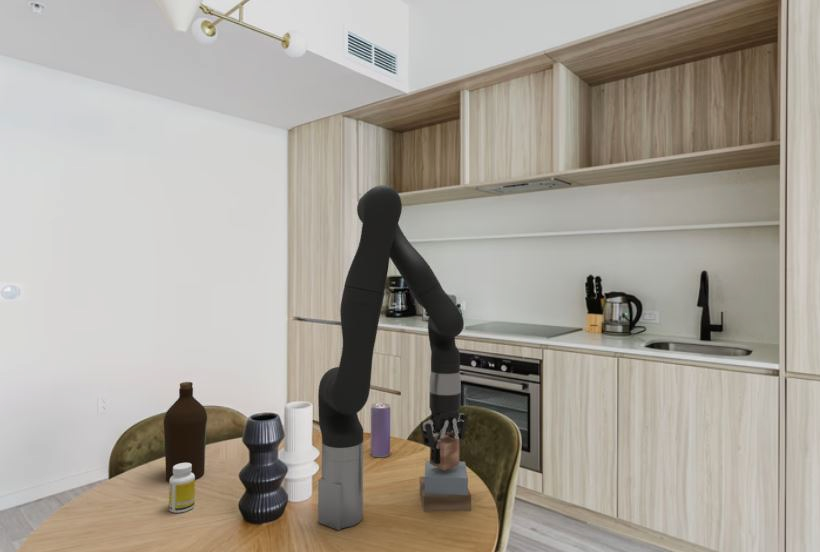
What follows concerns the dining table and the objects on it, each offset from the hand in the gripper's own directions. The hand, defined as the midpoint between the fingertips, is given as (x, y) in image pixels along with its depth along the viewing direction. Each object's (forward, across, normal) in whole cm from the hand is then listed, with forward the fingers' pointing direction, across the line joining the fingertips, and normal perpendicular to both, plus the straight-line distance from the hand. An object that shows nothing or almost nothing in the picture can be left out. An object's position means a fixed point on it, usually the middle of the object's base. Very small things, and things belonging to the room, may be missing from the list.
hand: (444, 460), depth 116 cm
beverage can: (+10, +6, +34) cm, 36 cm away
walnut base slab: (+10, 0, 0) cm, 10 cm away
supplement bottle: (+10, -50, +36) cm, 62 cm away
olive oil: (+10, -44, +54) cm, 71 cm away
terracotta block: (+1, 0, 0) cm, 1 cm away
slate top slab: (+6, +1, 0) cm, 6 cm away
